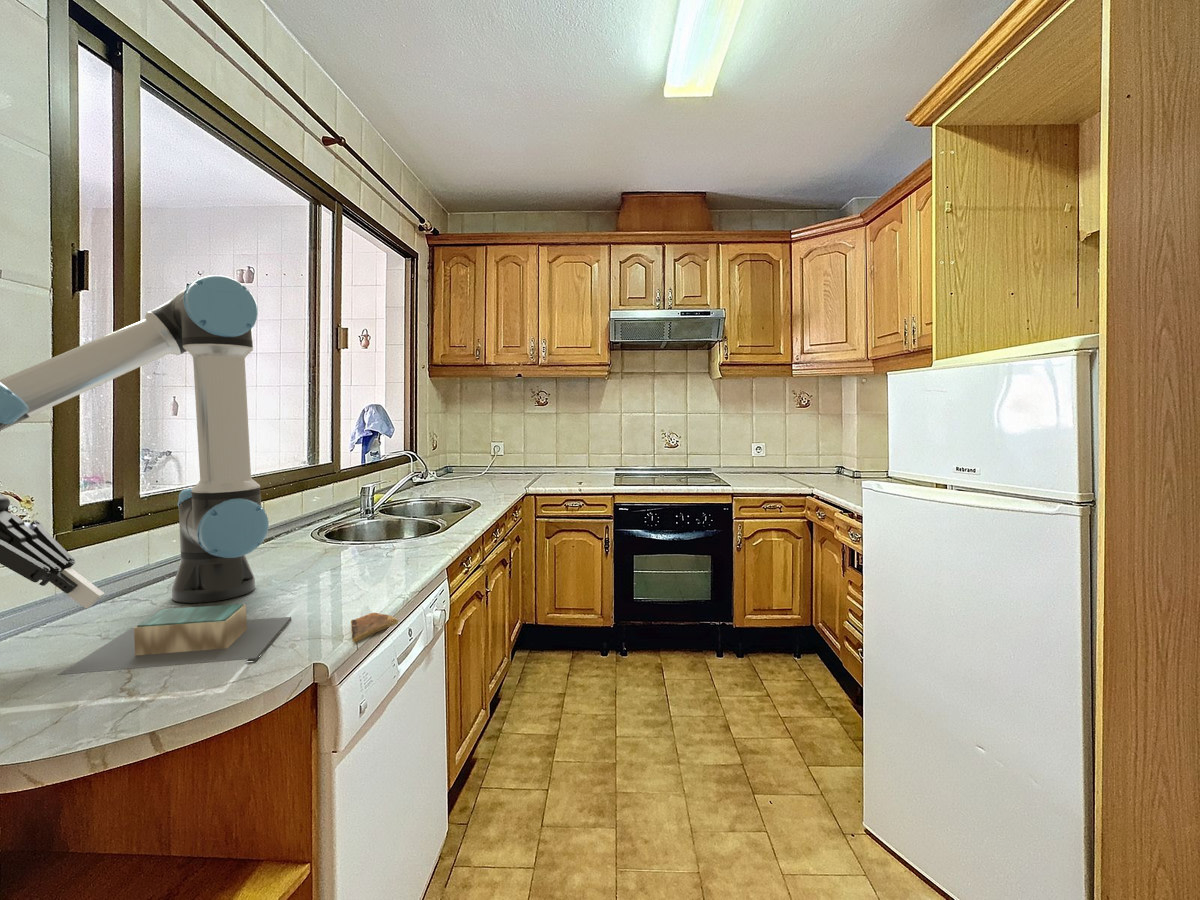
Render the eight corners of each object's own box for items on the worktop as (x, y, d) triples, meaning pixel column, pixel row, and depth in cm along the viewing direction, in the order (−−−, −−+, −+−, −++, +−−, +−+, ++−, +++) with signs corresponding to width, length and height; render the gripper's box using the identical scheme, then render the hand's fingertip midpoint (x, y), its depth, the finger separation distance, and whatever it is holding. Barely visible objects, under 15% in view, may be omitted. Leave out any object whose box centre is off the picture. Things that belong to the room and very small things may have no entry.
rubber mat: (58, 678, 87) (57, 674, 87) (131, 631, 107) (131, 628, 107) (255, 661, 93) (255, 658, 93) (291, 620, 113) (291, 616, 113)
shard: (352, 646, 101) (352, 635, 101) (320, 639, 104) (320, 629, 104) (400, 626, 111) (399, 616, 111) (369, 620, 114) (369, 610, 114)
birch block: (133, 626, 94) (226, 619, 97) (161, 608, 103) (245, 603, 106) (135, 655, 94) (227, 648, 97) (162, 635, 103) (246, 629, 106)
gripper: (-24, 512, 98) (100, 606, 103) (-96, 526, 85) (50, 632, 90) (13, 479, 99) (135, 573, 103) (-53, 488, 86) (89, 595, 91)
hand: (95, 600), depth 97 cm, fingers closed
